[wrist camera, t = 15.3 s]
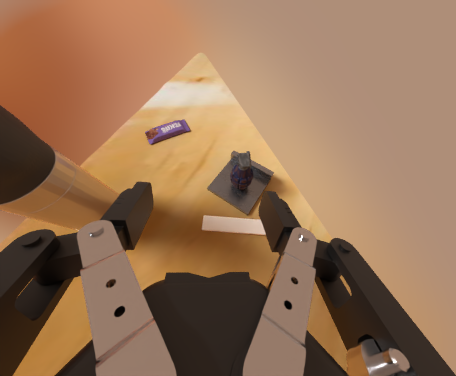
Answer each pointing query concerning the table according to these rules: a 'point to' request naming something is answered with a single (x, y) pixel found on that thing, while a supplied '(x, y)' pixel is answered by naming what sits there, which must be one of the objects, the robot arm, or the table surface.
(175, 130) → the snack package
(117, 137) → the table surface
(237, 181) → the hand grenade
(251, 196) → the plate
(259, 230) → the door edge strip
